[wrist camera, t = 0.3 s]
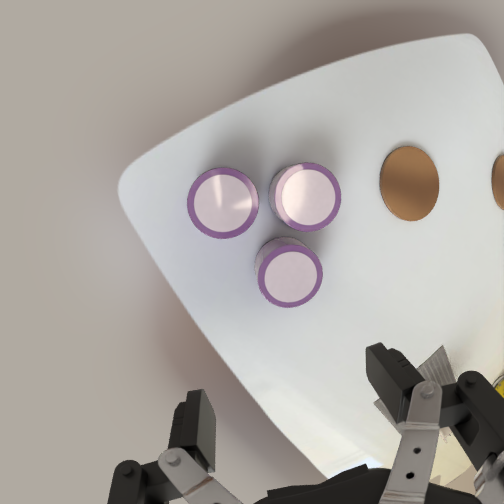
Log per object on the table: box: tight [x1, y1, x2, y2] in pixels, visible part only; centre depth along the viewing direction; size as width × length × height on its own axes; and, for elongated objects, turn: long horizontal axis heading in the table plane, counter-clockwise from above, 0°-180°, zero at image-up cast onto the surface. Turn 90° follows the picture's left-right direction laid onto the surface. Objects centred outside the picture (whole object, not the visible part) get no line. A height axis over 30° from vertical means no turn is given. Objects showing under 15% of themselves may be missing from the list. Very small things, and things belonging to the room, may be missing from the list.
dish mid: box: [269, 163, 341, 232], centre depth 22 cm, size 5×5×3 cm
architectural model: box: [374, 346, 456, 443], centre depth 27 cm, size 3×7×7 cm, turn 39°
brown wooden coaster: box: [380, 146, 439, 221], centre depth 23 cm, size 7×7×1 cm
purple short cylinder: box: [254, 237, 323, 308], centre depth 23 cm, size 5×5×3 cm
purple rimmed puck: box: [187, 167, 259, 239], centre depth 21 cm, size 5×5×3 cm
